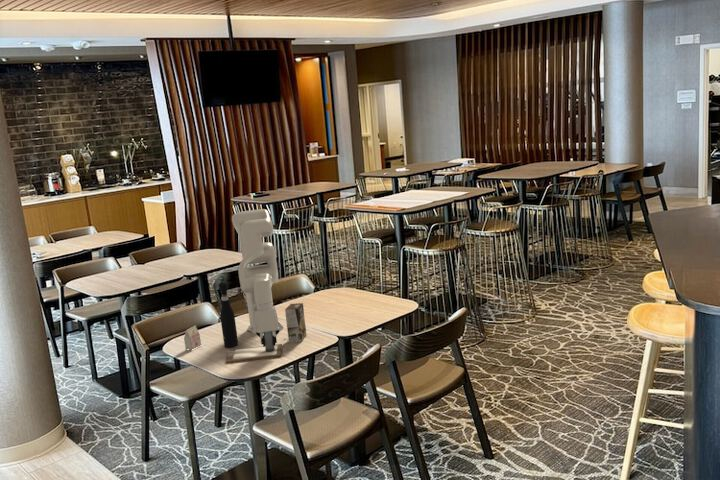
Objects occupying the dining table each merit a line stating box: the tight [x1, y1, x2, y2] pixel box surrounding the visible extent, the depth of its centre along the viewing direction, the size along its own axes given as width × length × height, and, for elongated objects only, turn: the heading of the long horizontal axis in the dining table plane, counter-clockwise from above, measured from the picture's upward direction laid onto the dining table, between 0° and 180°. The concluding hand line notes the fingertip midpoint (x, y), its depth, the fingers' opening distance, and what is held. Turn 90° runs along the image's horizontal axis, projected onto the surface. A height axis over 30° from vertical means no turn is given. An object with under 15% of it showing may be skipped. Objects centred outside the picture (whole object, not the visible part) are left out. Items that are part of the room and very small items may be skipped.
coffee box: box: [284, 302, 308, 343], centre depth 309 cm, size 9×6×16 cm
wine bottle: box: [218, 282, 239, 349], centre depth 307 cm, size 6×6×30 cm
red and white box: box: [183, 325, 202, 350], centre depth 311 cm, size 4×7×10 cm, turn 155°
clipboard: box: [225, 343, 283, 364], centre depth 296 cm, size 14×24×2 cm, turn 94°
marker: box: [263, 331, 275, 352], centre depth 295 cm, size 4×4×12 cm
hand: (269, 344), depth 296 cm, fingers closed on marker, 3 cm apart
